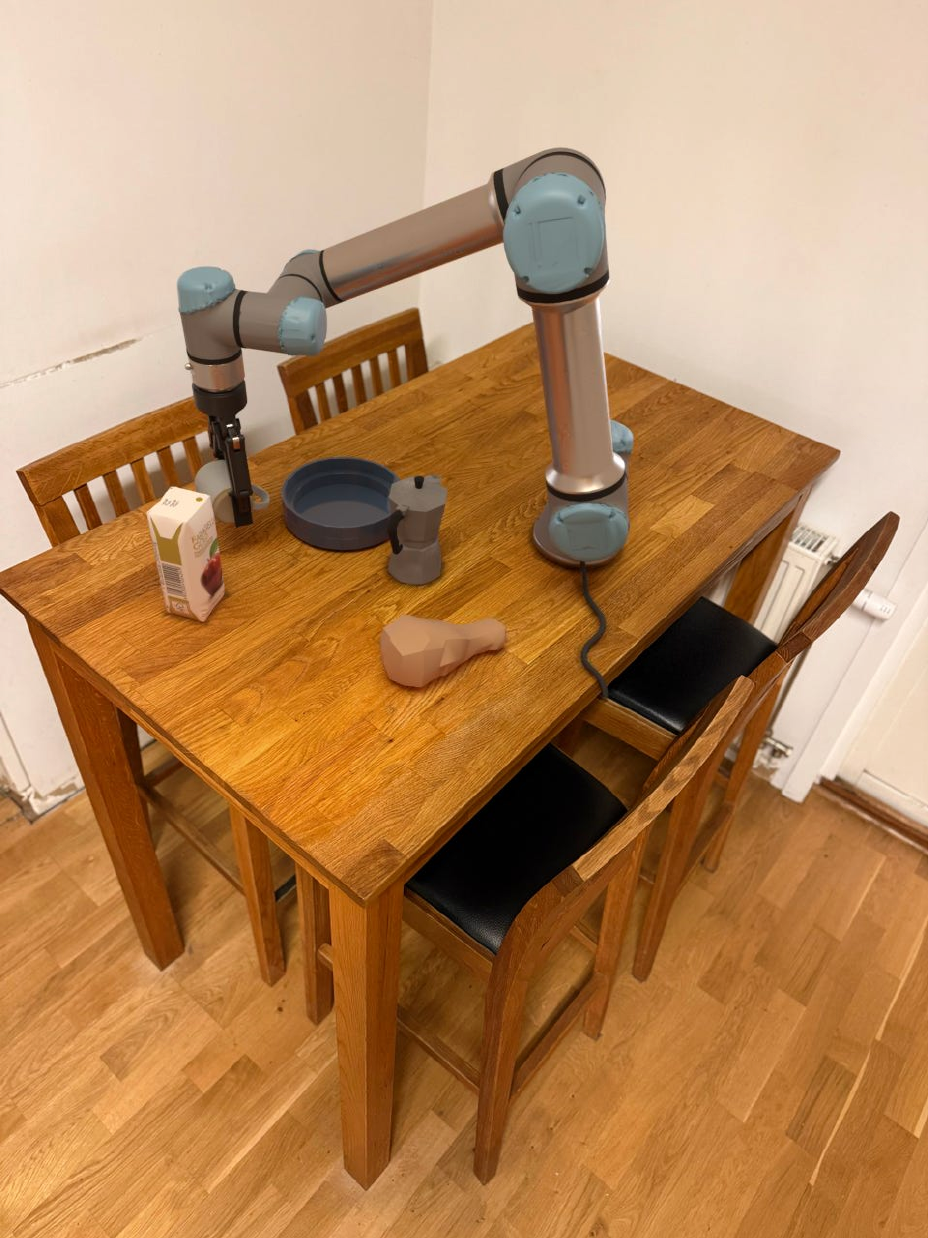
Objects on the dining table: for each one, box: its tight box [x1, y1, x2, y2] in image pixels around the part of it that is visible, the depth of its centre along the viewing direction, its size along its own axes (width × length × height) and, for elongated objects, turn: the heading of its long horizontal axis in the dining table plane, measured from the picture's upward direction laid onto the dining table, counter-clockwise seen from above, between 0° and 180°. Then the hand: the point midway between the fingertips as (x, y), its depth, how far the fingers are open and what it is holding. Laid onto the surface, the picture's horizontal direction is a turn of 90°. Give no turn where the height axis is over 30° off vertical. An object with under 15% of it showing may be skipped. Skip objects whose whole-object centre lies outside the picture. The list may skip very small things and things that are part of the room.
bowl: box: [281, 456, 401, 551], centre depth 153 cm, size 21×21×6 cm
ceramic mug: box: [193, 459, 271, 525], centre depth 140 cm, size 11×8×8 cm
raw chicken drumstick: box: [378, 613, 507, 688], centre depth 129 cm, size 11×20×9 cm, turn 121°
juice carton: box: [146, 486, 225, 623], centre depth 130 cm, size 8×9×19 cm
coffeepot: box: [387, 473, 448, 586], centre depth 140 cm, size 15×9×18 cm, turn 153°
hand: (236, 508), depth 143 cm, fingers closed on ceramic mug, 8 cm apart
